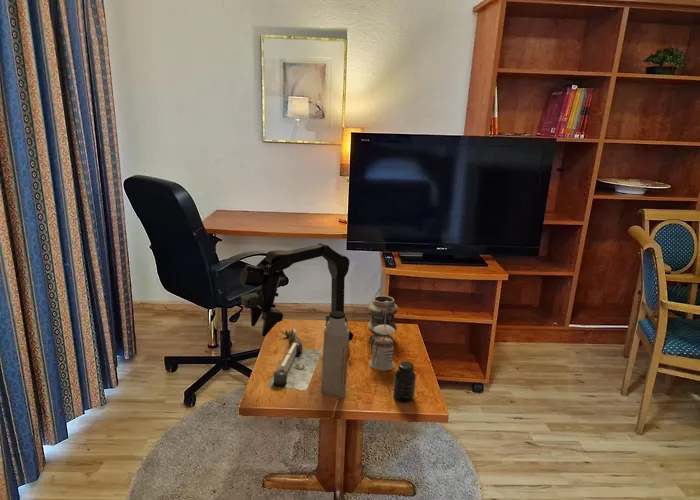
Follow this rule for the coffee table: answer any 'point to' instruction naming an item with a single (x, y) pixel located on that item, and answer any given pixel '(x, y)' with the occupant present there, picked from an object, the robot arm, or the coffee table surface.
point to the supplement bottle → (404, 382)
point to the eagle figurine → (291, 335)
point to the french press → (382, 347)
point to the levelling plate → (299, 369)
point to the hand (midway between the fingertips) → (258, 331)
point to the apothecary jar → (382, 314)
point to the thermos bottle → (335, 355)
